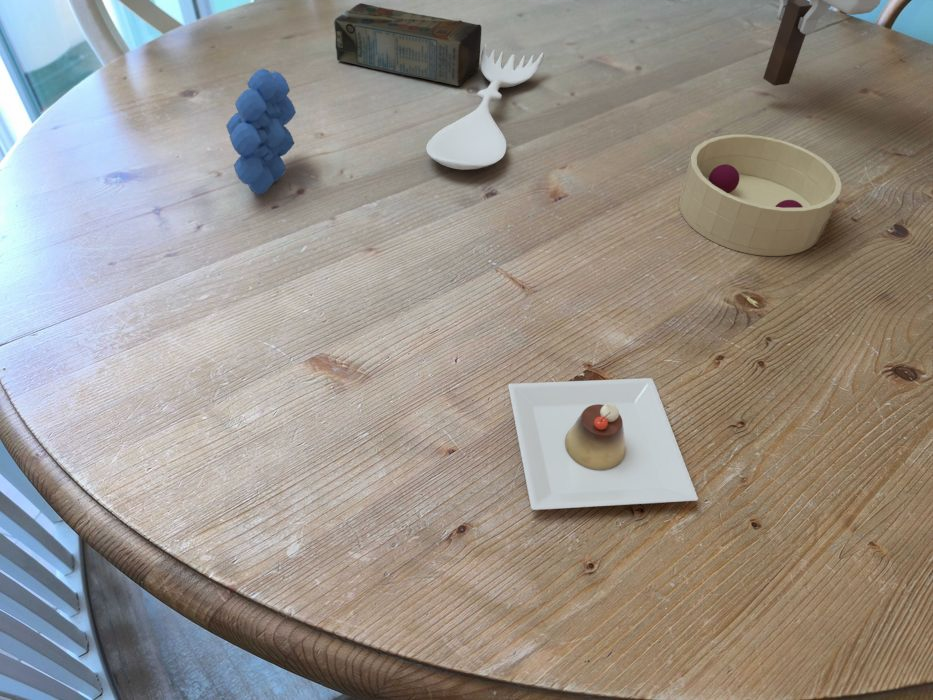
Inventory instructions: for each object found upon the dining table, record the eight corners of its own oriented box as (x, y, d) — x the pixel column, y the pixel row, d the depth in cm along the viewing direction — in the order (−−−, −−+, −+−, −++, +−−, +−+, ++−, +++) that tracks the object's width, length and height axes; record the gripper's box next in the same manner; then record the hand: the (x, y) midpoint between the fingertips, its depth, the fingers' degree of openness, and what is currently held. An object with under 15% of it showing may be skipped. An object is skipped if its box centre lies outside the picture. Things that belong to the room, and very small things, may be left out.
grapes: (259, 149, 87) (242, 46, 79) (313, 159, 86) (302, 55, 78) (210, 202, 79) (185, 93, 71) (270, 213, 78) (252, 104, 70)
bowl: (764, 169, 89) (780, 126, 85) (852, 242, 79) (874, 197, 75) (653, 188, 85) (664, 144, 81) (730, 267, 75) (746, 221, 71)
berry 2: (785, 217, 80) (796, 191, 78) (805, 234, 78) (816, 208, 76) (761, 222, 79) (770, 196, 77) (779, 239, 77) (790, 213, 75)
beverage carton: (361, 42, 111) (358, -5, 106) (482, 68, 106) (485, 20, 101) (335, 62, 105) (331, 14, 101) (461, 90, 101) (463, 41, 96)
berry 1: (723, 182, 85) (732, 157, 83) (740, 197, 83) (749, 171, 80) (699, 186, 84) (707, 161, 82) (715, 201, 82) (724, 175, 80)
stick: (777, 76, 100) (803, -2, 93) (789, 83, 98) (816, 4, 91) (762, 78, 99) (787, -1, 92) (773, 86, 98) (800, 6, 91)
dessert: (529, 518, 52) (537, 477, 49) (506, 393, 61) (511, 350, 58) (694, 509, 54) (713, 468, 50) (649, 387, 62) (662, 345, 59)
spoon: (544, 73, 106) (547, 49, 103) (493, 189, 83) (495, 161, 81) (482, 64, 107) (483, 39, 105) (415, 175, 84) (415, 148, 82)
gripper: (925, -76, 78) (872, 55, 88) (801, -122, 92) (766, -4, 102) (877, -72, 77) (828, 61, 86) (758, -120, 90) (727, 0, 100)
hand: (794, 26), depth 94 cm, fingers closed on stick, 2 cm apart
